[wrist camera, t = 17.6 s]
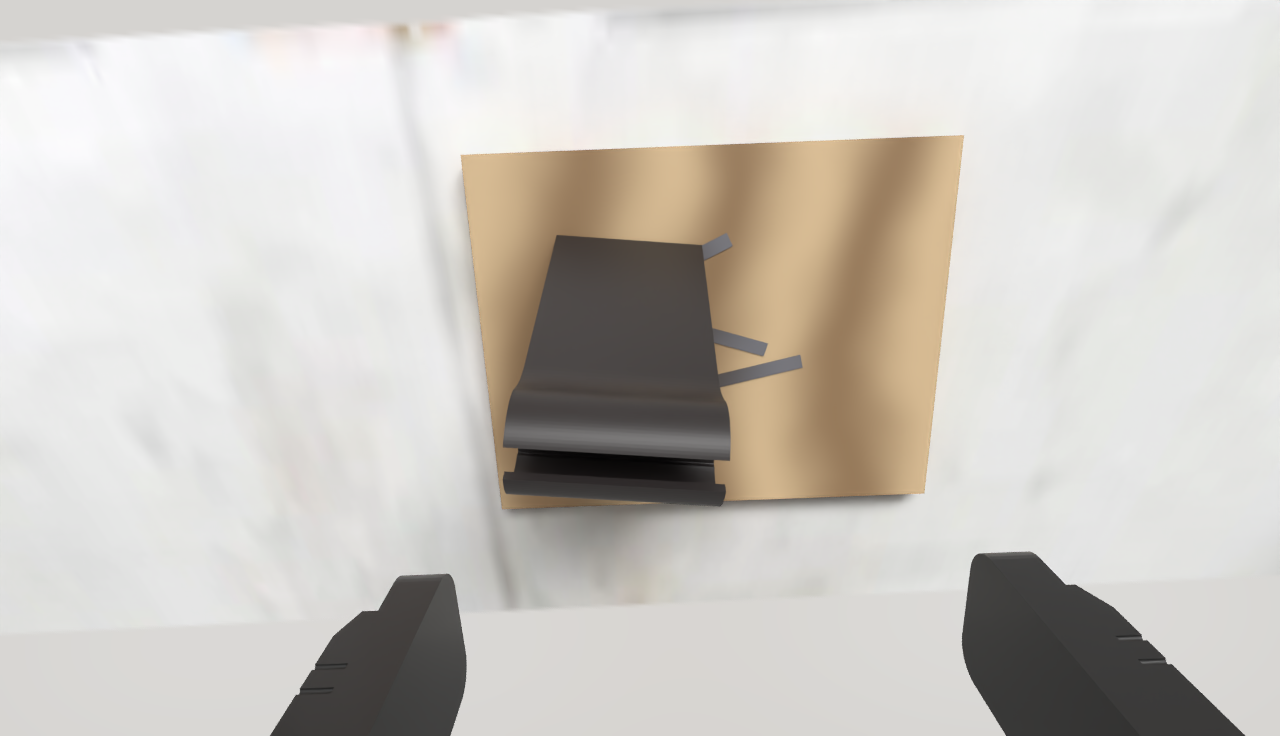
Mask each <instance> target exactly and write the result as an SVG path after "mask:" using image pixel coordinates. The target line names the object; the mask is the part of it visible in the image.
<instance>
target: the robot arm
mask: <svg viewBox="0 0 1280 736" xmlns="http://www.w3.org/2000/svg"><path fill="white" fill-rule="evenodd" d="M962 648H963V654H964V659H965V663H966V666H967V670H968V672H969V675H970V677H971V679H972V681H973V683H974V685H975V686H976V688H977V689H978V691H979V692H980V694H981V696H982V697H983V699H984V701H985V702H986V704H987V705H988V707H989V709H990V710H991V712H992V713H993V715H994V717H995V718H996V720H997V722H998V723H999V725H1000V726H1001V728H1002V730H1003V731H1004V733H1005V735H1006V736H1245V735H1244V734H1243V733H1242V732H1241V731H1240V730H1239V729H1238V728H1237V727H1236V726H1235V725H1234V724H1233V723H1231V722H1230V720H1229V719H1227V718H1226V717H1225V716H1224V715H1223V714H1222V713H1221V712H1220V711H1219V710H1218V709H1217V708H1216V707H1215V706H1214V705H1213V704H1212V703H1211V702H1210V701H1209V700H1208V699H1207V698H1206V697H1205V696H1204V695H1203V694H1202V693H1201V692H1200V691H1199V690H1198V689H1197V688H1196V687H1194V686H1193V684H1191V682H1189V681H1188V680H1187V679H1186V678H1185V677H1184V676H1183V675H1182V674H1181V673H1180V672H1179V671H1178V670H1177V669H1176V668H1175V667H1174V666H1173V665H1172V664H1167V663H1166V660H1165V657H1164V656H1163V655H1162V654H1161V653H1160V652H1158V650H1157V649H1156V648H1155V647H1153V645H1151V644H1150V643H1149V642H1148V641H1147V640H1146V641H1143V639H1142V636H1141V634H1140V633H1139V632H1138V631H1137V630H1136V629H1135V628H1134V627H1133V626H1132V625H1131V624H1130V623H1129V622H1127V620H1126V619H1125V618H1124V617H1123V616H1122V615H1121V614H1120V613H1119V612H1118V611H1116V609H1115V608H1113V607H1112V606H1110V605H1109V604H1107V603H1105V602H1104V601H1102V600H1100V599H1098V598H1097V597H1095V596H1093V595H1092V594H1090V593H1088V592H1087V591H1085V590H1083V589H1082V588H1080V587H1078V586H1077V585H1065V584H1064V583H1063V582H1062V581H1061V579H1060V578H1059V577H1058V576H1057V575H1056V574H1055V573H1054V572H1053V571H1052V570H1051V569H1050V568H1049V567H1048V566H1047V565H1046V564H1045V563H1044V562H1043V561H1042V560H1041V559H1040V558H1039V557H1038V556H1037V555H1036V554H1034V553H1032V552H1007V553H983V554H977V555H976V556H975V557H974V559H973V561H972V564H971V569H970V577H969V585H968V593H967V601H966V609H965V617H964V625H963V633H962ZM465 682H466V652H465V645H464V640H463V633H462V627H461V621H460V615H459V609H458V603H457V596H456V590H455V585H454V581H453V579H452V577H451V575H449V574H433V575H409V576H400V577H398V578H397V579H396V581H395V582H394V584H393V586H392V587H391V589H390V591H389V593H388V594H387V596H386V598H385V600H384V601H383V603H382V605H381V607H380V608H379V610H378V611H362V612H361V613H360V614H359V615H358V616H356V617H355V618H354V619H353V620H352V621H350V622H349V623H348V624H347V625H346V626H345V627H343V628H342V629H341V630H340V631H339V632H338V633H336V634H335V635H334V636H333V637H332V639H331V641H330V642H329V644H328V645H327V647H326V648H325V650H324V652H323V653H322V655H321V656H320V658H319V660H318V661H317V663H316V664H315V670H312V671H311V672H310V674H309V675H308V677H307V679H306V680H305V682H304V683H303V685H302V686H301V688H300V694H299V695H296V696H295V697H294V699H293V700H292V702H291V704H290V705H289V707H288V708H287V710H286V711H285V713H284V715H283V716H282V718H281V719H280V721H279V723H278V724H277V726H276V727H275V729H274V730H273V732H272V733H271V735H270V736H450V735H451V732H452V729H453V726H454V723H455V720H456V716H457V713H458V710H459V707H460V704H461V701H462V698H463V694H464V688H465Z"/></svg>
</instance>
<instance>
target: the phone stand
mask: <svg viewBox="0 0 1280 736" xmlns="http://www.w3.org/2000/svg"><path fill="white" fill-rule="evenodd" d="M503 448H518V454H517V458H516V464H515V469H514V472H506V471H504V475H503V487H504V491H505V493H506V494H512V495H530V496H547V497H565V498H582V499H599V500H617V501H634V502H652V503H669V504H687V505H704V506H721V505H722V504H723V501H724V499H725V495H726V487H725V484H715V467H714V460H722V461H730V451H731V431H730V417H729V410H728V406H727V403H726V401H725V400H724V398H723V396H722V393H721V389H720V384H719V378H718V370H717V362H716V354H715V346H714V337H713V329H712V321H711V313H710V305H709V297H708V289H707V281H706V273H705V265H704V257H703V249H702V245H696V244H681V243H667V242H653V241H638V240H624V239H609V238H595V237H581V236H566V235H556V239H555V243H554V247H553V252H552V256H551V260H550V264H549V268H548V272H547V276H546V280H545V284H544V288H543V292H542V296H541V300H540V304H539V308H538V312H537V316H536V320H535V324H534V328H533V332H532V336H531V340H530V344H529V348H528V352H527V356H526V360H525V365H524V368H523V372H522V375H521V378H520V380H519V383H518V384H517V386H516V387H515V388H514V389H513V391H512V394H511V397H510V400H509V404H508V409H507V414H506V421H505V428H504V438H503Z"/></svg>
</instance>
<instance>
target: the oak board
mask: <svg viewBox="0 0 1280 736" xmlns="http://www.w3.org/2000/svg"><path fill="white" fill-rule="evenodd" d="M963 139H964V135H960V136H934V137H908V138H883V139H857V140H832V141H806V142H781V143H755V144H730V145H704V146H679V147H653V148H628V149H602V150H577V151H551V152H526V153H500V154H475V155H461V161H462V170H463V178H464V187H465V195H466V204H467V213H468V221H469V230H470V238H471V247H472V255H473V264H474V272H475V281H476V289H477V298H478V307H479V315H480V324H481V332H482V341H483V349H484V358H485V366H486V375H487V384H488V392H489V401H490V409H491V418H492V426H493V435H494V443H495V452H496V461H497V469H498V478H499V486H500V495H501V503H502V509H522V508H548V507H575V506H602V505H628V504H655V503H652V502H634V501H617V500H599V499H582V498H565V497H547V496H530V495H512V494H506V493H505V491H504V487H503V475H504V471H506V472H514V469H515V464H516V458H517V454H518V448H503V438H504V428H505V421H506V414H507V409H508V404H509V400H510V397H511V394H512V391H513V389H514V388H515V387H516V386H517V384H518V383H519V380H520V378H521V375H522V372H523V368H524V365H525V360H526V356H527V352H528V348H529V344H530V340H531V336H532V332H533V328H534V324H535V320H536V316H537V312H538V308H539V304H540V300H541V296H542V292H543V288H544V284H545V280H546V276H547V272H548V268H549V264H550V260H551V256H552V252H553V247H554V243H555V239H556V235H566V236H581V237H595V238H609V239H624V240H638V241H653V242H667V243H681V244H696V245H702V249H703V257H704V265H705V273H706V281H707V289H708V297H709V305H710V313H711V321H712V329H713V337H714V346H715V354H716V362H717V370H718V378H719V384H720V389H721V393H722V396H723V398H724V400H725V401H726V403H727V406H728V410H729V417H730V431H731V451H730V461H722V460H714V467H715V484H725V487H726V495H725V499H724V501H735V500H761V499H788V498H815V497H841V496H868V495H895V494H921V493H924V491H925V482H926V473H927V464H928V455H929V446H930V437H931V428H932V419H933V410H934V401H935V391H936V382H937V373H938V364H939V355H940V346H941V337H942V328H943V319H944V310H945V301H946V292H947V283H948V274H949V265H950V256H951V247H952V238H953V229H954V220H955V211H956V202H957V193H958V184H959V175H960V166H961V157H962V148H963Z"/></svg>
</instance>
